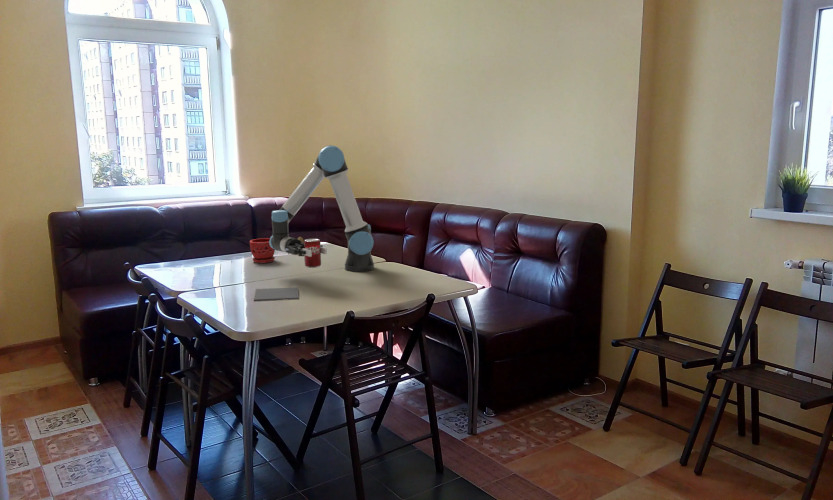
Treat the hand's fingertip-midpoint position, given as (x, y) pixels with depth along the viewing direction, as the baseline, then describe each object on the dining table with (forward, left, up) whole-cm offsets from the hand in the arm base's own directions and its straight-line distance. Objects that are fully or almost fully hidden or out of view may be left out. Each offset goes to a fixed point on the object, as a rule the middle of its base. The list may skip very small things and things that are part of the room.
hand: (318, 252), depth 270 cm
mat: (+18, +8, -16) cm, 26 cm away
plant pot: (+26, -65, -17) cm, 72 cm away
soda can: (+2, -4, -7) cm, 9 cm away
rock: (+7, -84, -17) cm, 86 cm away
